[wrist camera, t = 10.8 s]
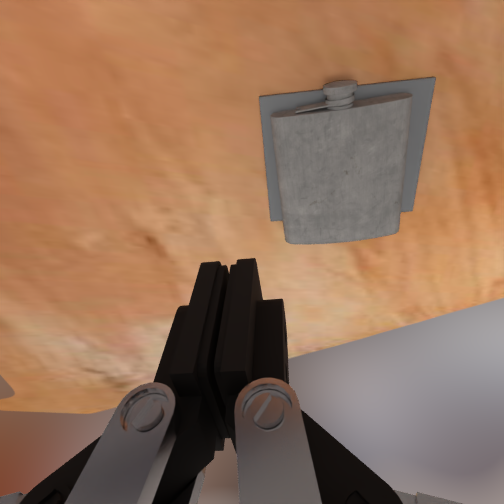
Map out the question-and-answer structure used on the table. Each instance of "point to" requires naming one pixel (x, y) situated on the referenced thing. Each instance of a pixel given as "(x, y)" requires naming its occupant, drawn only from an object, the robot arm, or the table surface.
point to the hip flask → (342, 165)
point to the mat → (416, 87)
